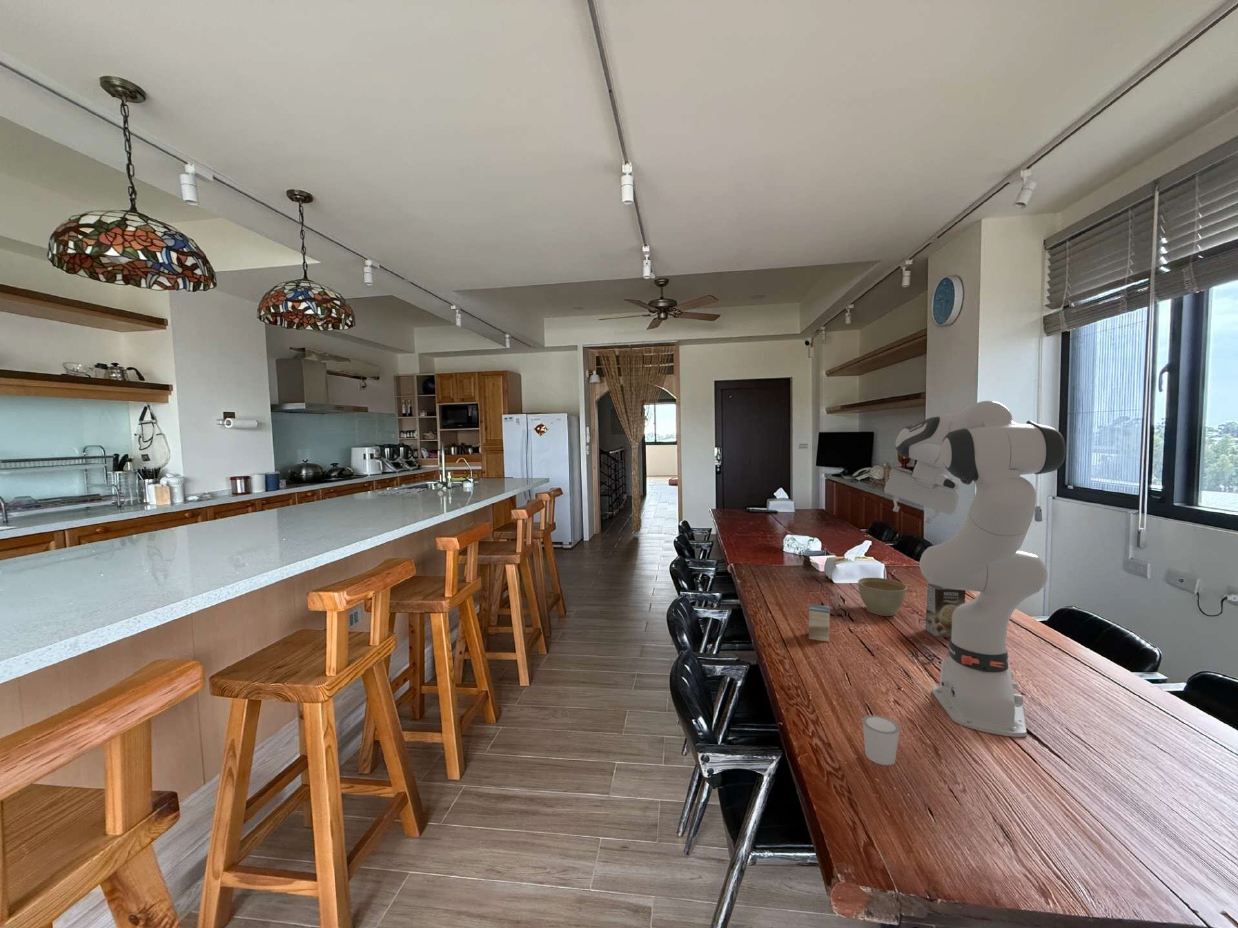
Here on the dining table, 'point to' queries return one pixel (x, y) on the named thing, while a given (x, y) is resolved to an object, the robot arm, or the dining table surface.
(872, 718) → the shot glass
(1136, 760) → the dining table surface
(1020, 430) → the robot arm
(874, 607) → the planter bowl
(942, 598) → the coffee box
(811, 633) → the birch block
